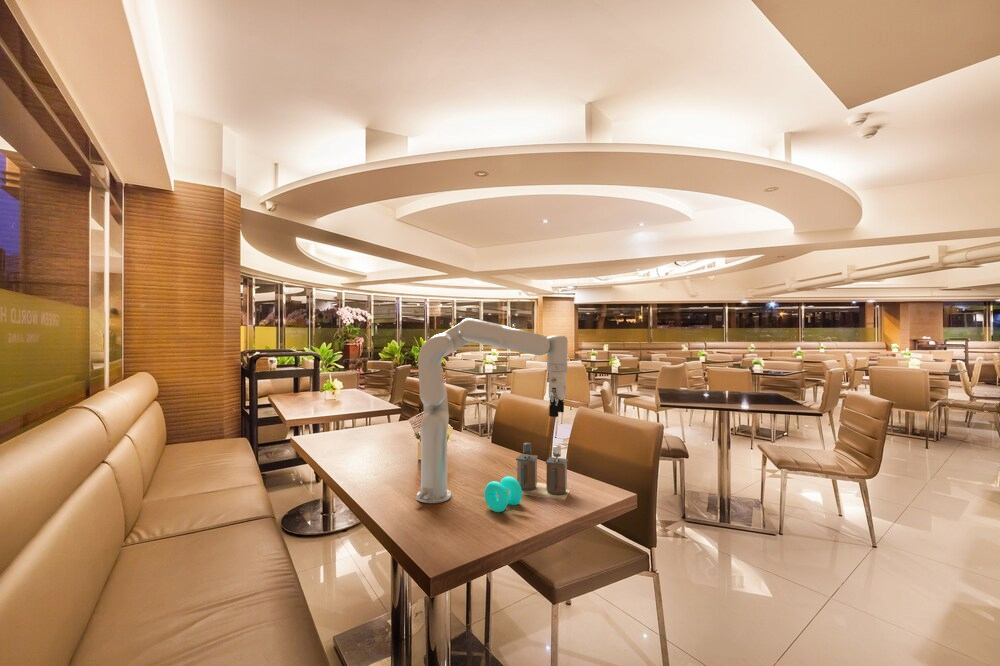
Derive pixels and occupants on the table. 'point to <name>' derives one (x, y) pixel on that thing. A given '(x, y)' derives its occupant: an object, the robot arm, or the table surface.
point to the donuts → (503, 493)
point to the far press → (527, 469)
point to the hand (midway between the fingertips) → (556, 414)
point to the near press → (556, 476)
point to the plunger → (556, 451)
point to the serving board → (545, 492)
